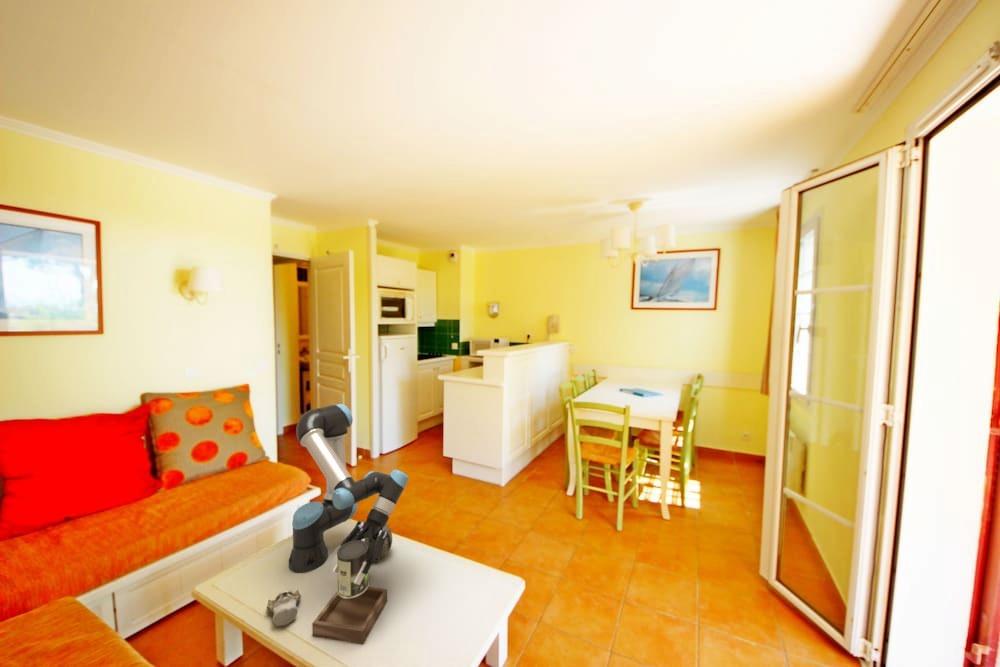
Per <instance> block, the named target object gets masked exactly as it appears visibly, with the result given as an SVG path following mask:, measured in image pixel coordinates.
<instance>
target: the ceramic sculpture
mask: <svg viewBox="0 0 1000 667" xmlns="http://www.w3.org/2000/svg"><path fill="white" fill-rule="evenodd" d="M301 597H302V596H301V594H300V592H299V590H298V589H297V590H296V591H295V592H294V591H292V590H290V589H288V590H284V591H281V592H280V593H278V594H277V595H276V596H275V598H274V600H270V599H268V601H267V605H266V608H267V610H268V611H270V612H271V613H273V615H272V622H273V624H274V625H275V626H276V627H284V626H288V625H289V624H290V623H291V622H293V621H294V620H295V619H296V617H297V614H298V611H299V610H298V607H297V603H298V602H299V600H301Z"/></svg>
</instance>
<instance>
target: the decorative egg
mask: <svg viewBox="0 0 1000 667" xmlns="http://www.w3.org/2000/svg"><path fill="white" fill-rule="evenodd" d="M382 531H384V532H386V533H388V535H387V537H386V539H385V541H384V544H383V548H382V551H381V555H380V558H382V557H384V556H386V555H387V554H388V553H389V551H390V550H391V547H392V544H393V534H392V531H391V528H390V526H389V524H387V523H386V525H385V526H384V527H383V529H382ZM378 538H379V535H378V536H377V541H378ZM364 541H365V542H366V543H368V546H369V539H368V538H364ZM376 544H377V542H376Z"/></svg>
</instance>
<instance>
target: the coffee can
mask: <svg viewBox="0 0 1000 667" xmlns="http://www.w3.org/2000/svg"><path fill="white" fill-rule="evenodd" d="M368 548H369V546H368V543H366V542H365V540H355V541H350V542H348V543H345V544H344V545H342V546H339V547H338V549H337V551H336V557H337V558H336V559H337V560H336V561H337V562H336V564H337V569H338V573H337V590H338V595H339V596H340V597H342V598H345V599H351V598H355V597H358V596H360V595H361V594H363V593H364V592H365V591H366V590H367V588H368V587H370V585H369V584H370V582H369V572H368V573H367V574H365V576H364V578H363V580H362V582H361V584H360V585H358V584H355V583H353V582H354V581H355V579H356V577H357V575H358V573H359V571H360V569H361V567H362V565H363V563H364V561H365V562H366V560H367V556H368Z"/></svg>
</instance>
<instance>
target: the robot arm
mask: <svg viewBox="0 0 1000 667" xmlns="http://www.w3.org/2000/svg"><path fill="white" fill-rule="evenodd" d="M352 424H353V414H352V412H351V410H350V409H349V407H348V406H347V405H345V404H343V403H338V404H331V405H326V406H322V407H318V408H313V409H309V410H308V411H306V412H304V413H303V414H302V415H301V416H300V418H299V419H298V421H297V424H296V429H295V430H296V431H295V433H296V434H295V435H296V438H297V441H298V443H299V444H300V445H301V447H304V448H306V450H307V451H308V453H309V454H310V455H311V457H312V459H313V460H314V462H315V463H316V465H317V467H319V470H320V471H321V473H322V474H323V476H324V477H325V480H326V492H325V493H324V494H323V502H320V501H313V502H307V503H305V504H303V505H301V506H300V507H298V508H297V509H296V510H295V512H294V513H293V516H292V525H291V527H292V549H291V551H290V554H289V559H288V569H289V570H290V571H291V572H294V573H301V574H302V573H307V572H311V571H313V570H316V569H318V568H319V567H321V566H323V565H324V563H325V562H326V561H327V560H328V558H329V550H328V549H329V548H328V547H327V545H326V542H325V540H324V532H326V531H328V530H331V529H332V528H334V527H336V526H338V525H340V524H342V523H344V522H347V521H348V520H350V519H352V518H353V517H354V515H355V514H356V513H357V510H358V503H359V502H362V501H364V500H366V499H369V498H371V497H373V496H375V495H376V494H378V496H377V498H376V500H375V502H374V503H373V505H372V508H371V509H370V510H369V513H367V516H366V521H365V522H363V521H361V520H358V521H357V523H356V524H355V525H354V526H355V527H354V528H353V529H352V530H351V531H350V532H349V534H347V536H346V537H345V538H344V540H343V541H342V542H341V544H340V546H339V547H341V546H342V545H344V544H345V543H348V542H350V541H355V540H361V541H363V540H365V538H368V539H369V548H368V556H367V560H366V562H365V561H364V563H363V565H362V567H361V569H360V571H359V573H358V575H357V577H356V579H355V581H354V582H353V583H355V584H358V585H360V584H361V582H362V580H363V578H364V576H365V574H367V573H368V574H369V571H370V570H371V567H372V565H378V564H379V562H380V555H381V551H382V548H383V544H384V541H385V539H386V537H387V535H388V533H386V532H384V531H382V529H383V527H384V526H385V525H386V524H387V523H388V521H389V519H390V516H391V515H392V513H393V511H394V509H395V507H396V505H397V503H398V501H399V499H400V497H401V496H402V493H403V492H404V490H405V489H406V485H407V483H408V482H409V476H408V475H407V474H406V473H405V472H402V471H401V470H397V469H393V470H392V471H391V472H390V473H389V474H387V473H384V472H381V471H377V470H375V471H374V470H371V471H369V472H367V473H366V474H365V475H364V477H363V478H361V479H358V480H354V478H353V477H352V475H351V474H350V473H349V471H348V470H347V460H346V442H345V441H346V440H345V437H346V435H348V434H349V433H348V428H350V427H351V426H352ZM378 535H379V538H378V541H377V536H378ZM376 542H377V544H376ZM332 572H333V573H334V574H335V573H336V574H338V569H337V563H336V564H335V566H334V568H333V570H332Z"/></svg>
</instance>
